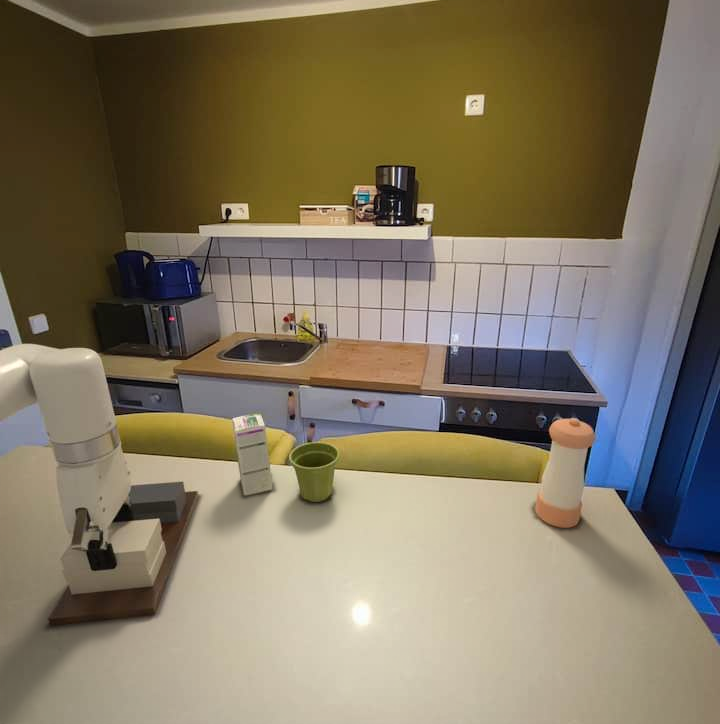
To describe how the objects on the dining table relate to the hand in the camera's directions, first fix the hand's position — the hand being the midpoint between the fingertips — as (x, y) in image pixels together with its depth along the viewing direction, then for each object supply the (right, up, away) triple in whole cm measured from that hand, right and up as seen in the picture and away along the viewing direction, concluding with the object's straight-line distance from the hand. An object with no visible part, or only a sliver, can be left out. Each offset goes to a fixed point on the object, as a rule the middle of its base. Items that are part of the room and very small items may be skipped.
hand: (115, 547), depth 62 cm
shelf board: (-1, -3, +8) cm, 8 cm away
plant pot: (+27, +2, +21) cm, 35 cm away
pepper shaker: (+71, 0, +15) cm, 73 cm away
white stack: (0, -4, +2) cm, 5 cm away
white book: (0, 0, 0) cm, 0 cm away
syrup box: (+15, +2, +24) cm, 28 cm away
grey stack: (-1, 0, +14) cm, 14 cm away
